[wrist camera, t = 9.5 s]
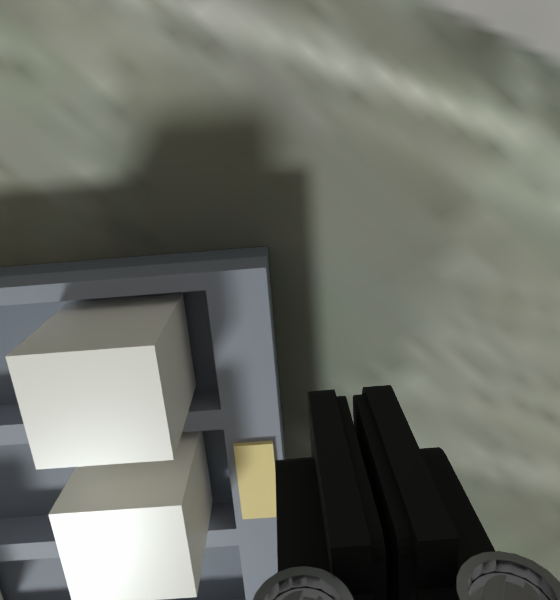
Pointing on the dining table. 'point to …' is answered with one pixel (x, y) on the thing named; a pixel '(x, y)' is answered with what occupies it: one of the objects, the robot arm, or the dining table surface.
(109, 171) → the dining table surface
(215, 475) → the switch bank
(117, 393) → the white cube
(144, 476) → the tab middle
